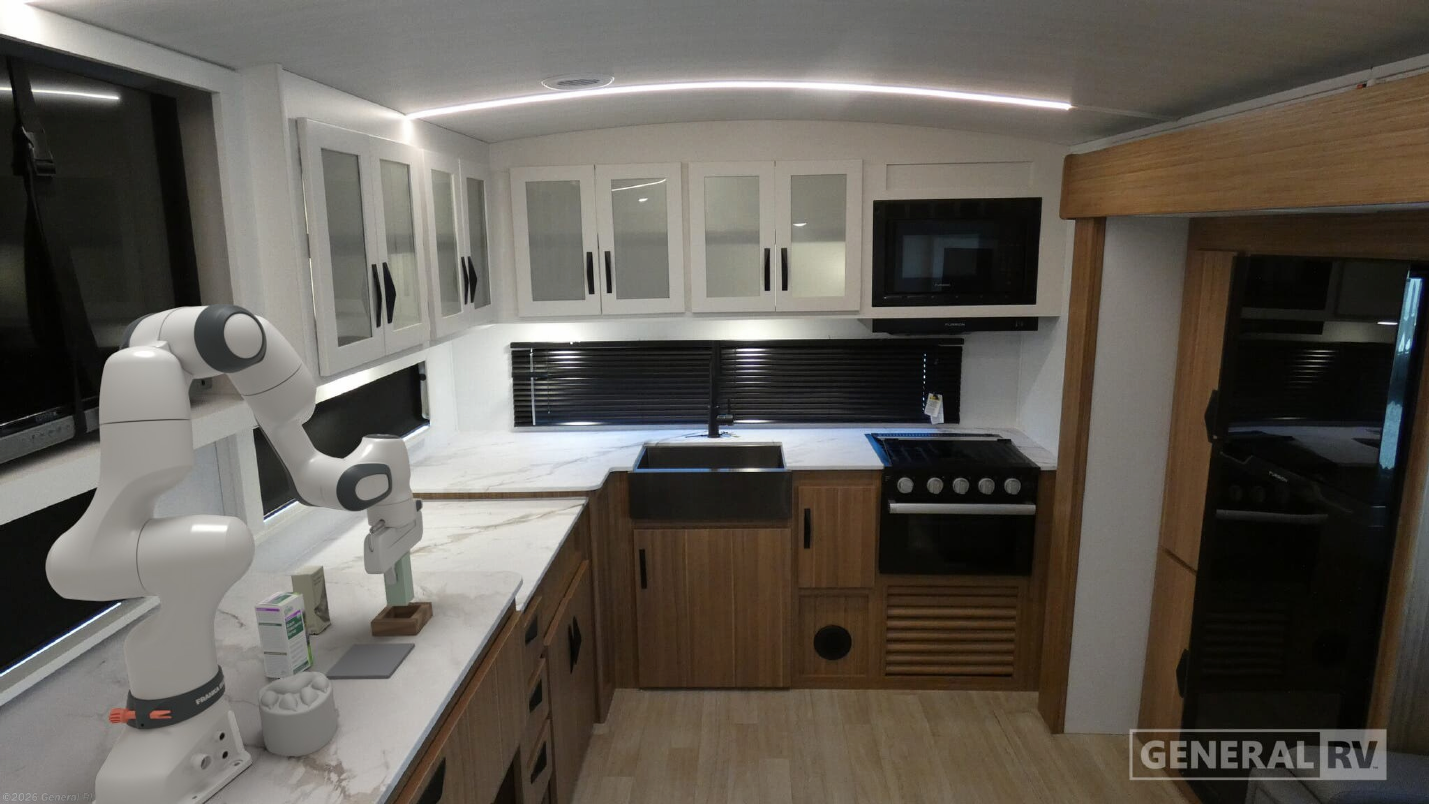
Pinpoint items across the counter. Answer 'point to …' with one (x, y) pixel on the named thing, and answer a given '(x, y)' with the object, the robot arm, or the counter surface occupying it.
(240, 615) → the counter surface
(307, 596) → the box
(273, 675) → the syrup box
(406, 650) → the mat
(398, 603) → the peg
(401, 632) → the block
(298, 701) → the lumpy-topped squat cylinder
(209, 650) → the robot arm
